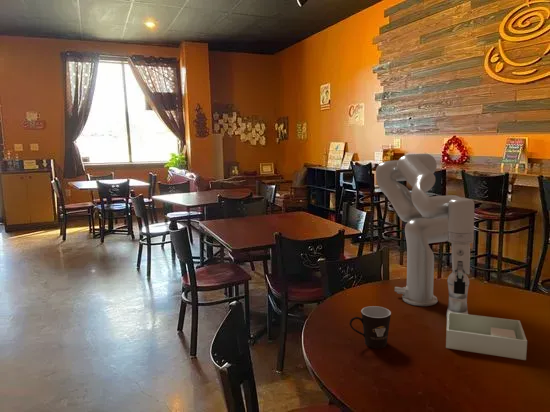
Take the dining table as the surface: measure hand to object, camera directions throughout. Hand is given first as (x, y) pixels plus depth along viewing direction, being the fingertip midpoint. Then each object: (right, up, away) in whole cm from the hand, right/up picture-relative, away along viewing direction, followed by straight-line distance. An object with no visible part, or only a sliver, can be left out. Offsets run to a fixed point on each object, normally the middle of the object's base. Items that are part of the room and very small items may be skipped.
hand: (459, 288), depth 135 cm
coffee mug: (-31, -15, -9) cm, 35 cm away
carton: (+6, -14, -14) cm, 21 cm away
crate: (+2, -14, -12) cm, 19 cm away
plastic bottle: (0, -12, +2) cm, 12 cm away
